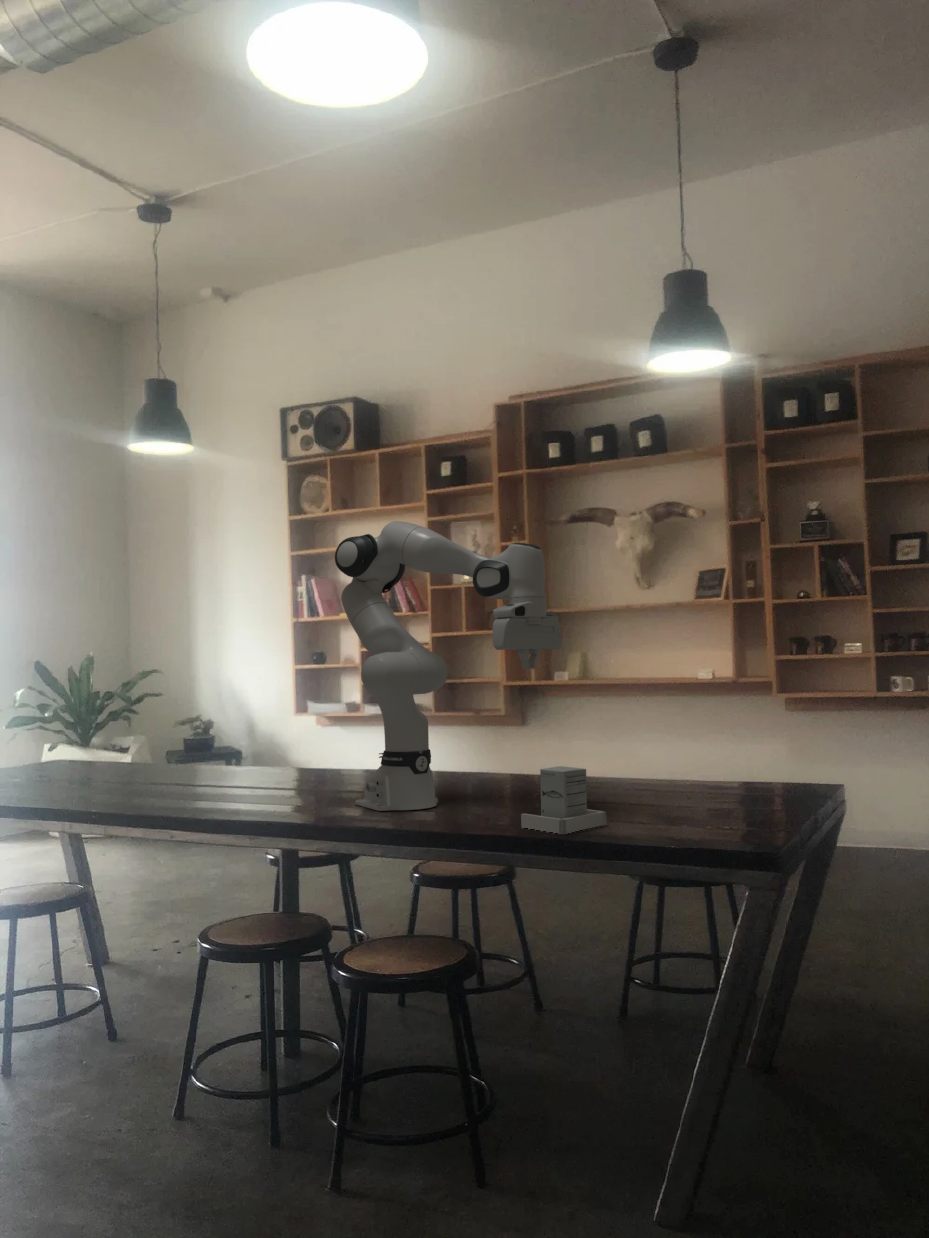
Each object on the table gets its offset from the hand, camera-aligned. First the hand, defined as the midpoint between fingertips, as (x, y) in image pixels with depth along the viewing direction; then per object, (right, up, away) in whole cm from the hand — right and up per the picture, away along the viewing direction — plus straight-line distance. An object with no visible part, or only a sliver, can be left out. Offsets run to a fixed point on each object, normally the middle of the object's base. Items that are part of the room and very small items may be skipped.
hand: (529, 669), depth 223 cm
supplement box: (+6, -33, -19) cm, 39 cm away
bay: (+6, -33, -19) cm, 39 cm away
